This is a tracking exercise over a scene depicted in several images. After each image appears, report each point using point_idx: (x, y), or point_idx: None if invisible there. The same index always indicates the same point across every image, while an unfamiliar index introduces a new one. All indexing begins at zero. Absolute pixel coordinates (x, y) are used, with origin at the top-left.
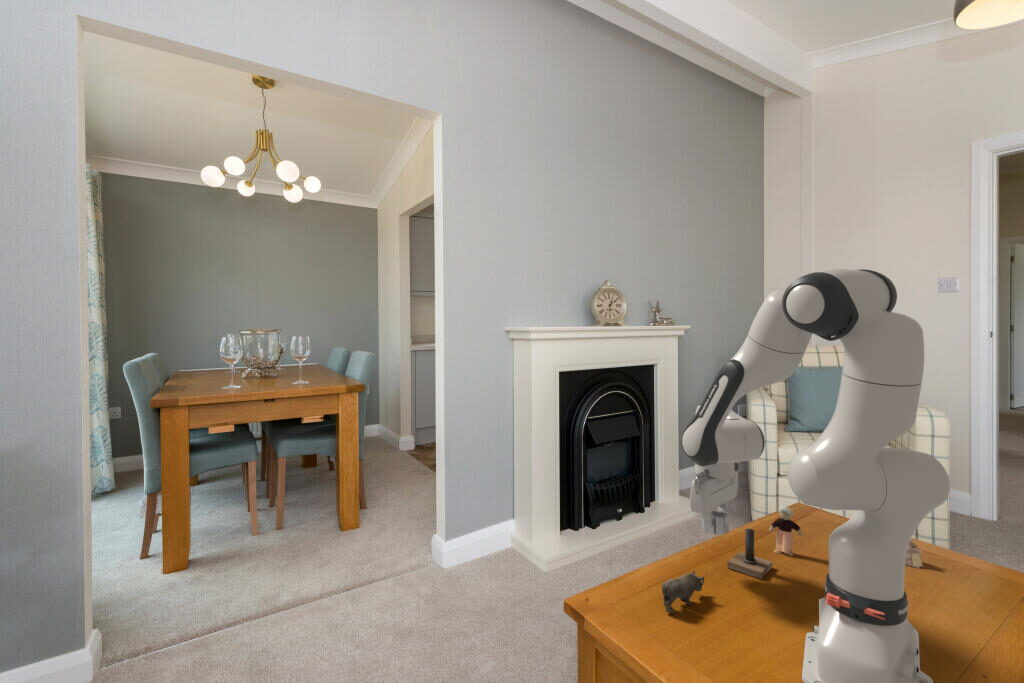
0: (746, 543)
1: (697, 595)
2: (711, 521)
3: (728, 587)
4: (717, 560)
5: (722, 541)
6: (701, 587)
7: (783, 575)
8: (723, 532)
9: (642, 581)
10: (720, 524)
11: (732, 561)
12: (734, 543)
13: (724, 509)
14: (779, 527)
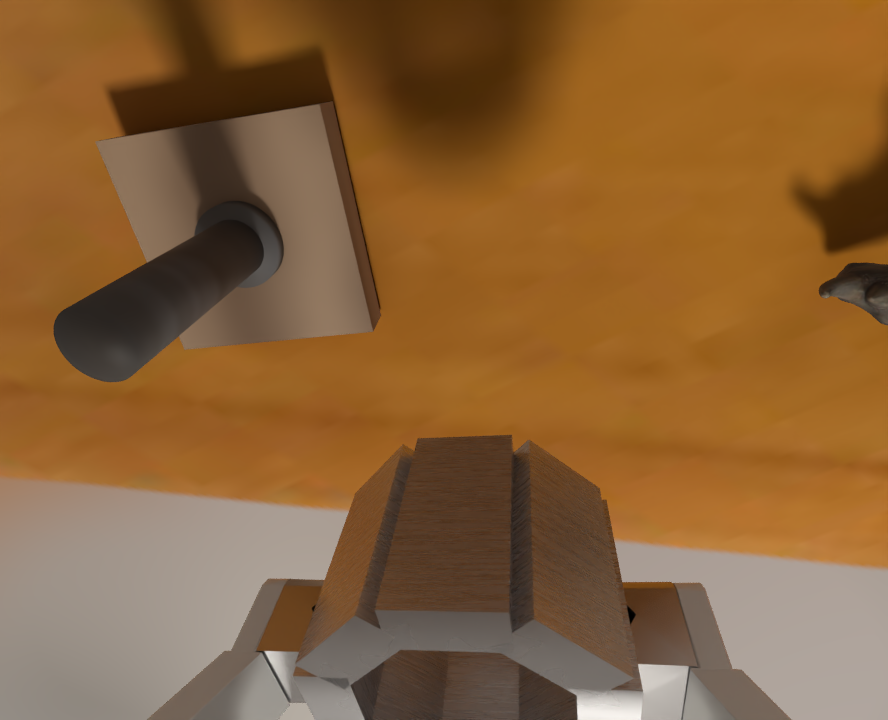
0: (206, 305)
1: (840, 268)
2: (720, 657)
3: (603, 195)
4: (339, 391)
5: (128, 467)
6: (864, 268)
7: (138, 26)
8: (537, 458)
9: (860, 510)
10: (568, 554)
11: (338, 315)
12: (84, 422)
13: (225, 696)
14: None
